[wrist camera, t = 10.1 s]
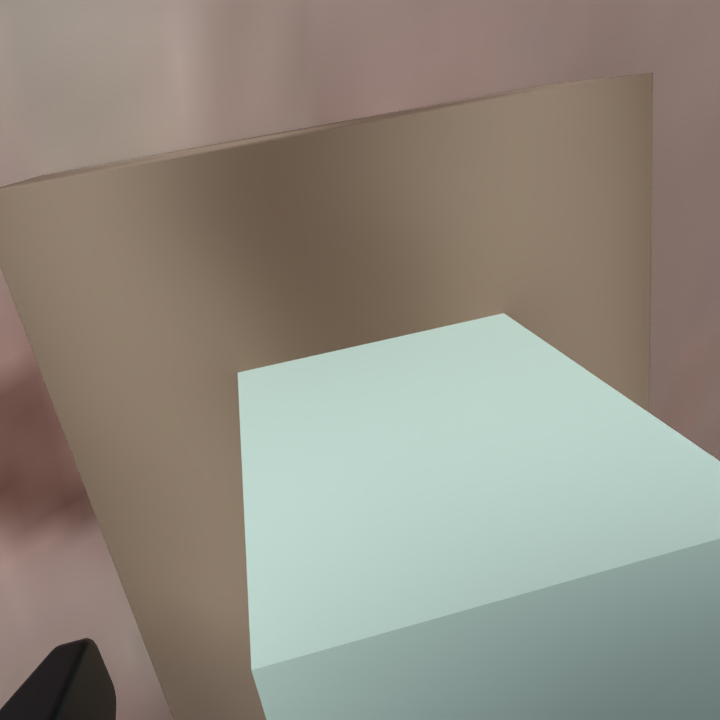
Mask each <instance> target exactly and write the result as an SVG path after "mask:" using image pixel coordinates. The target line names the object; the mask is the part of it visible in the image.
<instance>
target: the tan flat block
mask: <svg viewBox="0 0 720 720" xmlns="http://www.w3.org/2000/svg"><path fill="white" fill-rule="evenodd" d="M652 89H653V73H645V74H636V75H628V76H619V77H610V78H602V79H593V80H585V81H576V82H568V83H559V84H550V85H544V86H538V87H533V88H527V89H521V90H516V91H510V92H505V93H499V94H493V95H488V96H482V97H477V98H471V99H466V100H460V101H454V102H449V103H443V104H438V105H432V106H427V107H421V108H415V109H410V110H404V111H399V112H393V113H388V114H382V115H376V116H371V117H365V118H360V119H354V120H348V121H343V122H337V123H332V124H326V125H321V126H315V127H309V128H304V129H298V130H293V131H287V132H282V133H276V134H270V135H265V136H259V137H254V138H248V139H242V140H237V141H231V142H226V143H220V144H215V145H209V146H203V147H198V148H192V149H187V150H181V151H176V152H170V153H164V154H159V155H153V156H148V157H142V158H137V159H131V160H125V161H120V162H114V163H109V164H103V165H97V166H92V167H86V168H81V169H75V170H70V171H64V172H58V173H53V174H47V175H42V176H38V177H35V178H31V179H28V180H25V181H21V182H18V183H14V184H11V185H7V186H4V187H0V267H1V269H2V272H3V275H4V277H5V280H6V283H7V285H8V288H9V290H10V293H11V296H12V298H13V301H14V303H15V306H16V309H17V311H18V314H19V317H20V319H21V322H22V324H23V327H24V330H25V332H26V335H27V337H28V340H29V343H30V345H31V348H32V351H33V353H34V356H35V358H36V361H37V364H38V366H39V369H40V371H41V374H42V377H43V379H44V382H45V385H46V387H47V390H48V392H49V395H50V398H51V400H52V403H53V405H54V408H55V411H56V413H57V416H58V419H59V421H60V424H61V426H62V429H63V432H64V434H65V437H66V439H67V442H68V445H69V447H70V450H71V453H72V455H73V458H74V460H75V463H76V466H77V468H78V471H79V473H80V476H81V479H82V481H83V484H84V486H85V489H86V492H87V494H88V497H89V500H90V502H91V505H92V507H93V510H94V513H95V515H96V518H97V520H98V523H99V526H100V528H101V531H102V534H103V536H104V539H105V541H106V544H107V547H108V549H109V552H110V554H111V557H112V560H113V562H114V565H115V568H116V570H117V573H118V575H119V578H120V581H121V583H122V586H123V588H124V591H125V594H126V596H127V599H128V602H129V604H130V607H131V609H132V612H133V615H134V617H135V620H136V622H137V625H138V628H139V630H140V633H141V636H142V638H143V641H144V643H145V646H146V649H147V651H148V654H149V656H150V659H151V662H152V664H153V667H154V670H155V672H156V675H157V677H158V680H159V683H160V685H161V688H162V690H163V693H164V696H165V698H166V701H167V703H168V706H169V709H170V711H171V714H172V717H173V719H174V720H266V716H265V713H264V710H263V707H262V703H261V700H260V697H259V694H258V690H257V687H256V684H255V680H254V677H253V674H252V671H251V651H250V629H249V608H248V586H247V565H246V544H245V522H244V501H243V479H242V458H241V436H240V415H239V393H238V372H243V371H247V370H252V369H256V368H261V367H265V366H270V365H274V364H279V363H283V362H288V361H292V360H297V359H301V358H305V357H310V356H314V355H319V354H323V353H328V352H332V351H337V350H341V349H346V348H350V347H355V346H359V345H364V344H368V343H373V342H377V341H382V340H386V339H391V338H395V337H399V336H404V335H408V334H413V333H417V332H422V331H426V330H431V329H435V328H440V327H444V326H449V325H453V324H458V323H462V322H467V321H471V320H476V319H480V318H484V317H489V316H493V315H498V314H502V313H504V314H506V315H507V316H509V317H510V318H512V319H513V320H515V321H516V322H517V323H519V324H520V325H522V326H523V327H525V328H526V329H528V330H529V331H531V332H532V333H533V334H535V335H536V336H538V337H539V338H541V339H542V340H544V341H545V342H547V343H548V344H549V345H551V346H552V347H554V348H555V349H557V350H558V351H560V352H561V353H563V354H564V355H565V356H567V357H568V358H570V359H571V360H573V361H574V362H576V363H577V364H579V365H580V366H582V367H583V368H584V369H586V370H587V371H589V372H590V373H592V374H593V375H595V376H596V377H598V378H599V379H600V380H602V381H603V382H605V383H606V384H608V385H609V386H611V387H612V388H614V389H615V390H616V391H618V392H619V393H621V394H622V395H624V396H625V397H627V398H628V399H630V400H631V401H633V402H634V403H635V404H637V405H638V406H640V407H641V408H643V409H644V410H646V411H647V412H649V394H650V292H651V191H652Z"/></svg>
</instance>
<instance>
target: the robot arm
mask: <svg viewBox="0 0 720 720" xmlns="http://www.w3.org/2000/svg"><path fill="white" fill-rule="evenodd" d="M115 719H116V695H115V690H114V686H113V683H112V680H111V678H110V676H109V673H108V671H107V669H106V666H105V664H104V661H103V659H102V657H101V654H100V652H99V649H98V647H97V645H96V644H95V642H94V641H93V640H91V639H88V638H84V639H81V640H77V641H73V642H69V643H66V644H62V645H59V646H57V647H56V648H54V649H53V650H52V651H51V652H50V653H49V655H48V656H47V657H46V658H45V659H44V660H43V661H42V663H41V664H40V665H39V666H38V667H37V668H36V669H35V671H34V672H33V673H32V674H31V675H30V676H29V677H28V679H27V680H26V681H25V682H24V683H23V684H22V685H21V686H20V688H19V689H18V690H17V691H16V692H15V693H14V694H13V696H12V697H11V698H10V699H9V700H8V701H7V702H6V704H5V705H4V706H3V707H2V708H1V709H0V720H115Z"/></svg>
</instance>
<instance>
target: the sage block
mask: <svg viewBox="0 0 720 720" xmlns="http://www.w3.org/2000/svg"><path fill="white" fill-rule="evenodd" d="M238 393H239V415H240V436H241V458H242V479H243V501H244V522H245V544H246V565H247V586H248V608H249V629H250V651H251V671H252V674H253V677H254V680H255V684H256V687H257V690H258V694H259V697H260V700H261V703H262V707H263V710H264V713H265V716H266V720H720V461H718V460H717V459H716V458H714V457H713V456H711V455H710V454H708V453H707V452H705V451H704V450H702V449H701V448H700V447H698V446H697V445H695V444H694V443H692V442H691V441H689V440H688V439H686V438H685V437H683V436H682V435H681V434H679V433H678V432H676V431H675V430H673V429H672V428H670V427H669V426H667V425H666V424H665V423H663V422H662V421H660V420H659V419H657V418H656V417H654V416H653V415H651V414H650V413H649V412H647V411H646V410H644V409H643V408H641V407H640V406H638V405H637V404H635V403H634V402H633V401H631V400H630V399H628V398H627V397H625V396H624V395H622V394H621V393H619V392H618V391H616V390H615V389H614V388H612V387H611V386H609V385H608V384H606V383H605V382H603V381H602V380H600V379H599V378H598V377H596V376H595V375H593V374H592V373H590V372H589V371H587V370H586V369H584V368H583V367H582V366H580V365H579V364H577V363H576V362H574V361H573V360H571V359H570V358H568V357H567V356H565V355H564V354H563V353H561V352H560V351H558V350H557V349H555V348H554V347H552V346H551V345H549V344H548V343H547V342H545V341H544V340H542V339H541V338H539V337H538V336H536V335H535V334H533V333H532V332H531V331H529V330H528V329H526V328H525V327H523V326H522V325H520V324H519V323H517V322H516V321H515V320H513V319H512V318H510V317H509V316H507V315H506V314H504V313H502V314H498V315H493V316H489V317H484V318H480V319H476V320H471V321H467V322H462V323H458V324H453V325H449V326H444V327H440V328H435V329H431V330H426V331H422V332H417V333H413V334H408V335H404V336H399V337H395V338H391V339H386V340H382V341H377V342H373V343H368V344H364V345H359V346H355V347H350V348H346V349H341V350H337V351H332V352H328V353H323V354H319V355H314V356H310V357H305V358H301V359H297V360H292V361H288V362H283V363H279V364H274V365H270V366H265V367H261V368H256V369H252V370H247V371H243V372H238Z"/></svg>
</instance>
